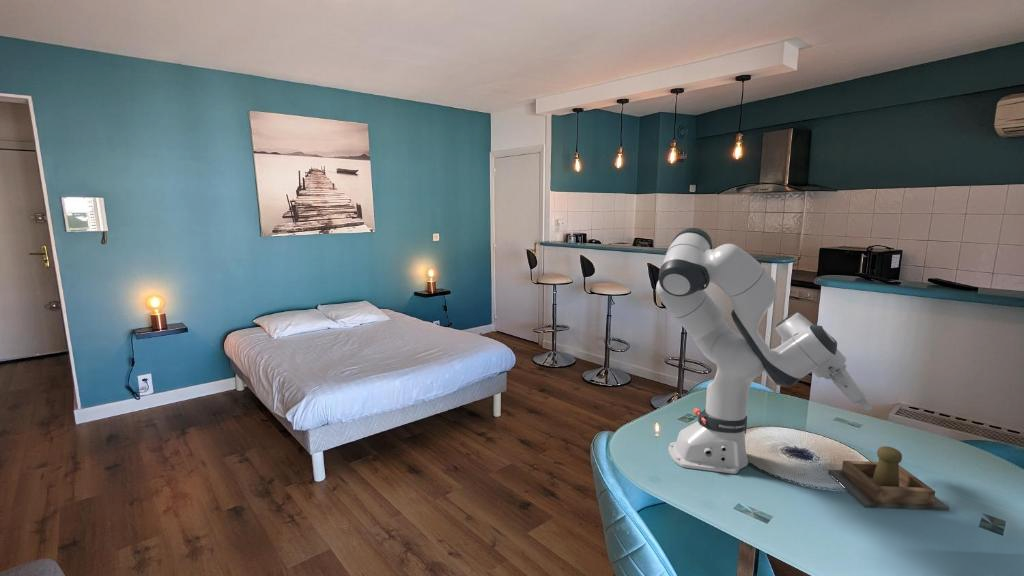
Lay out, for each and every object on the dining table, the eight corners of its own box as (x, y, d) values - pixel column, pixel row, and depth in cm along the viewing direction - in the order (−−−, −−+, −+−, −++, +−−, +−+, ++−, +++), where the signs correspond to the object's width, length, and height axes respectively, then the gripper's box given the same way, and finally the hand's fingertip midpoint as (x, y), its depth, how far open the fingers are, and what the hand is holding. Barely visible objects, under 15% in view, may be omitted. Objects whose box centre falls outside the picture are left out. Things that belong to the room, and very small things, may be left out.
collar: (864, 507, 121) (866, 491, 120) (828, 473, 137) (829, 458, 136) (948, 510, 120) (951, 494, 119) (902, 475, 136) (904, 460, 135)
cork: (901, 496, 124) (906, 456, 122) (872, 489, 127) (877, 450, 125) (897, 485, 129) (903, 447, 127) (869, 478, 132) (874, 441, 131)
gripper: (845, 367, 122) (887, 410, 120) (830, 346, 141) (865, 383, 139) (823, 381, 125) (863, 423, 123) (810, 359, 143) (845, 396, 141)
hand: (864, 402), depth 131 cm, fingers open, 8 cm apart
